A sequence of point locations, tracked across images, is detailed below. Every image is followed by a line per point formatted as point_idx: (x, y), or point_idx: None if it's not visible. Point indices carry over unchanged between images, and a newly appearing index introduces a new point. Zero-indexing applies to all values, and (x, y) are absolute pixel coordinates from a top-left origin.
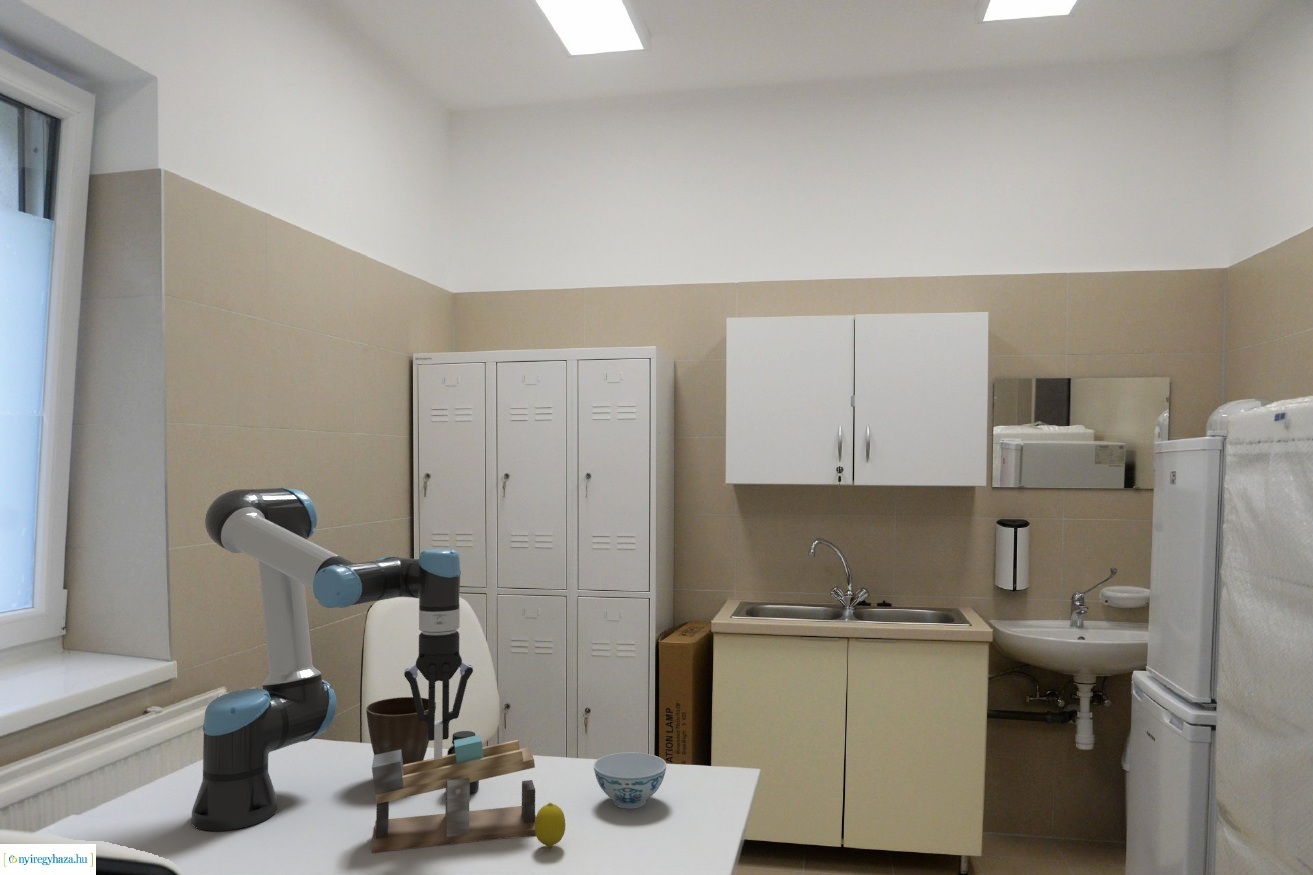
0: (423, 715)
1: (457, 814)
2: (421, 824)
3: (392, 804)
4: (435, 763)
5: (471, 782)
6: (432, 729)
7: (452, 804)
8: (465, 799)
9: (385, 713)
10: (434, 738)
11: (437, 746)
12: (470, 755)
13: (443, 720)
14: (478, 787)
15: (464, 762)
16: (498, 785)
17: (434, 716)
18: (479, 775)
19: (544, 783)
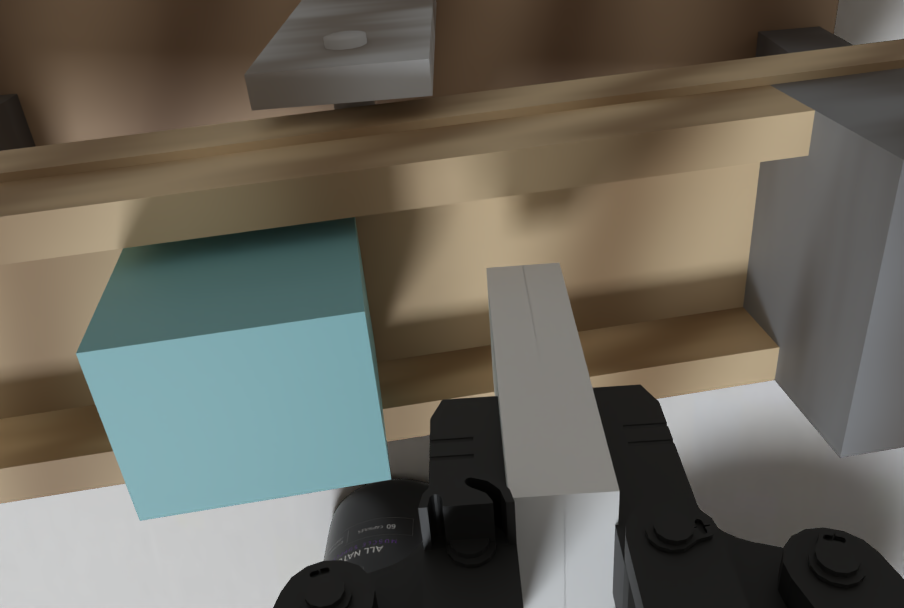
0: (823, 595)
1: (365, 7)
2: None
3: (699, 443)
4: None
5: (353, 523)
6: (628, 466)
7: (394, 18)
8: (302, 34)
9: None
10: (587, 377)
11: (542, 329)
12: (226, 273)
13: (500, 536)
14: (330, 526)
15: (283, 212)
16: (251, 551)
17: (642, 586)
18: (171, 139)
19: (49, 545)
